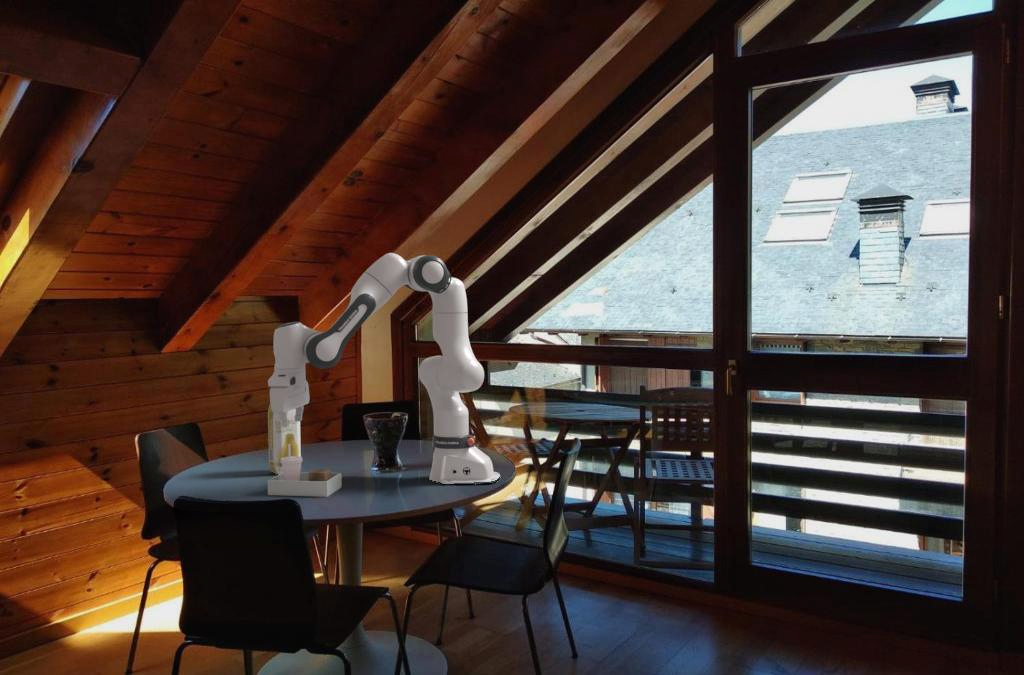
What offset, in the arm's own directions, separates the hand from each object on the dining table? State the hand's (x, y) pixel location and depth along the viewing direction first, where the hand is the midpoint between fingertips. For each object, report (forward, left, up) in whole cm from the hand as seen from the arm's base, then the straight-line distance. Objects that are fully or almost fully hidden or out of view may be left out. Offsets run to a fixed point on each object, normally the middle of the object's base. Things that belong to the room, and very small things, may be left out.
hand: (292, 423), depth 242 cm
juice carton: (+14, -27, -21) cm, 37 cm away
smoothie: (0, +1, -20) cm, 20 cm away
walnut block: (-8, 0, -20) cm, 22 cm away
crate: (-4, 0, -21) cm, 21 cm away
